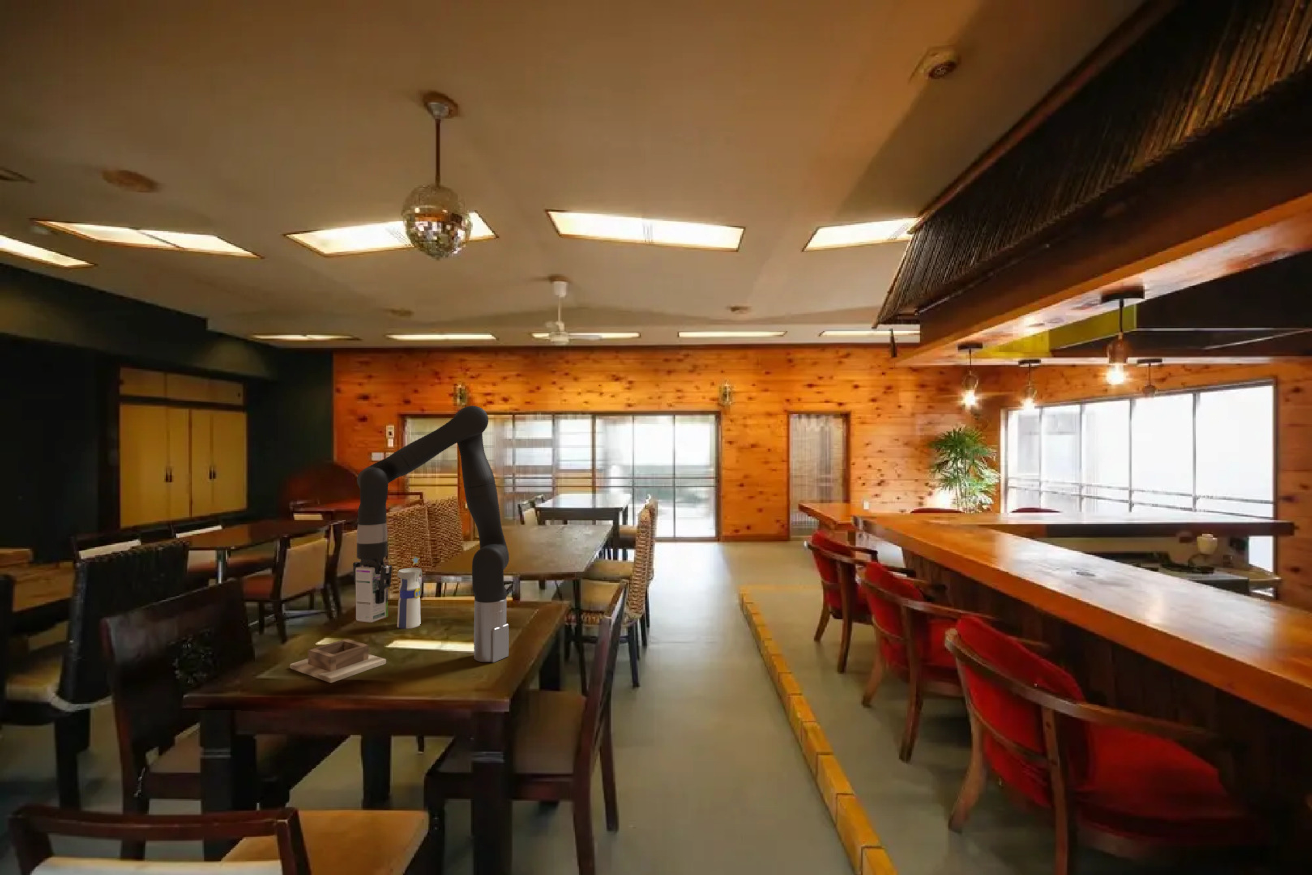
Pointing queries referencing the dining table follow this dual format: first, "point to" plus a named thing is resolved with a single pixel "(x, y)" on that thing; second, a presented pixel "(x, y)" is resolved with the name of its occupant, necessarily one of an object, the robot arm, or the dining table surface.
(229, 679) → the dining table surface
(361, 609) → the syrup box
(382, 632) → the dining table surface
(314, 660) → the collar board
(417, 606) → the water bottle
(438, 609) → the dining table surface
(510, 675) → the dining table surface
